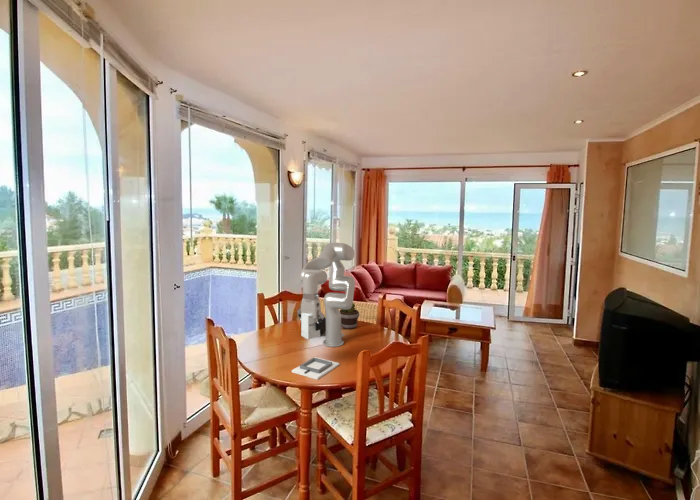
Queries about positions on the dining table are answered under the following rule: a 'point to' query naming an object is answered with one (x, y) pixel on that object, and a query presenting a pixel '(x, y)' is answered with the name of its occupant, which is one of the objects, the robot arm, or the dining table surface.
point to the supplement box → (309, 326)
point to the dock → (315, 368)
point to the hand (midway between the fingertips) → (310, 328)
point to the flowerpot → (349, 317)
